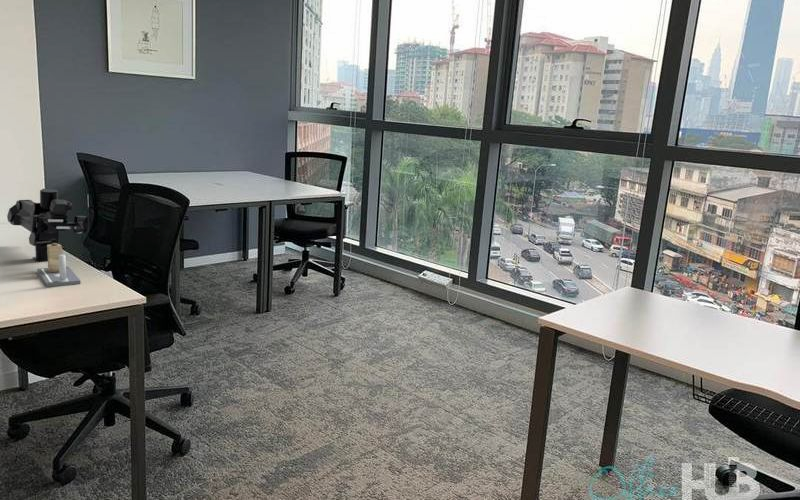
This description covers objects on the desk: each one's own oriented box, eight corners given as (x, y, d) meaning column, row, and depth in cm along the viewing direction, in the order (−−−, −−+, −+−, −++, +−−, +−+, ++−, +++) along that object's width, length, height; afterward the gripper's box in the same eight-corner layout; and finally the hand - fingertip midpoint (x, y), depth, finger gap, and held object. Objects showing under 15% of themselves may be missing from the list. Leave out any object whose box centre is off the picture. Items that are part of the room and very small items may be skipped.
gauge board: (37, 272, 217) (35, 244, 215) (68, 269, 223) (67, 242, 221) (47, 287, 202) (45, 257, 200) (80, 283, 208) (79, 255, 206)
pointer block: (48, 269, 216) (46, 242, 214) (60, 268, 219) (59, 241, 217) (50, 272, 213) (49, 245, 211) (63, 271, 216) (61, 244, 213)
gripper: (25, 196, 215) (42, 207, 206) (80, 198, 229) (98, 209, 220) (23, 226, 217) (39, 239, 208) (77, 227, 232) (95, 238, 222)
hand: (69, 230), depth 215 cm, fingers open, 9 cm apart
